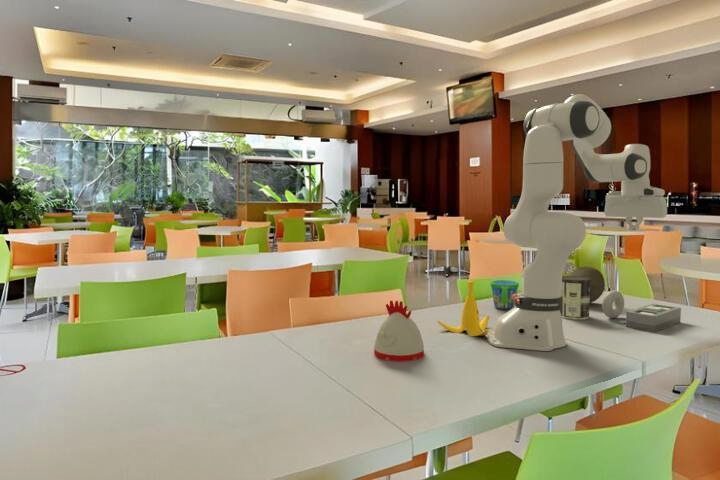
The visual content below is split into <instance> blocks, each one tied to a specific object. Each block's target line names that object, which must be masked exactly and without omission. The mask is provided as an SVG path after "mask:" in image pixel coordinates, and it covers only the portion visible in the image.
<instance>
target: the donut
mask: <svg viewBox="0 0 720 480" xmlns="http://www.w3.org/2000/svg"><path fill="white" fill-rule="evenodd" d="M601 308H602V312H603V314H604V315H605V316H606V317H607V318H609V319H615V318H618V317H619V316H620V315H621V314H622V313H623V311H624V309H625V298H624V295H623V294H622V293H621V292H620V291H618V290H613V289H612V290H610V291H608V292H607V293H606V294H605V295H604V297H603V299H602V302H601Z"/></svg>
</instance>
